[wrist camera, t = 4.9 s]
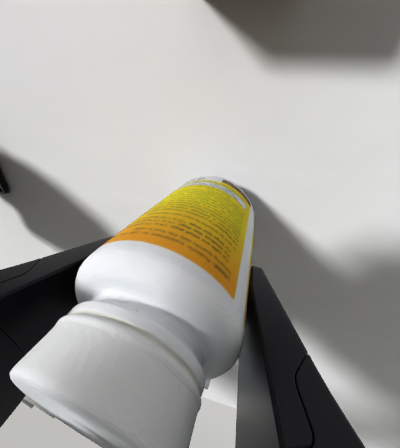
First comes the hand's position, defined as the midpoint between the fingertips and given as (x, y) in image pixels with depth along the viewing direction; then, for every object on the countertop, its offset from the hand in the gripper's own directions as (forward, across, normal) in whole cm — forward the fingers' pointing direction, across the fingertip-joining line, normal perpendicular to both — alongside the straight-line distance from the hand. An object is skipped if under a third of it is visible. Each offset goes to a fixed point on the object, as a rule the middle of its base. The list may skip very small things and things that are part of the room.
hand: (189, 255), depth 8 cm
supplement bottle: (+5, 0, 0) cm, 5 cm away
